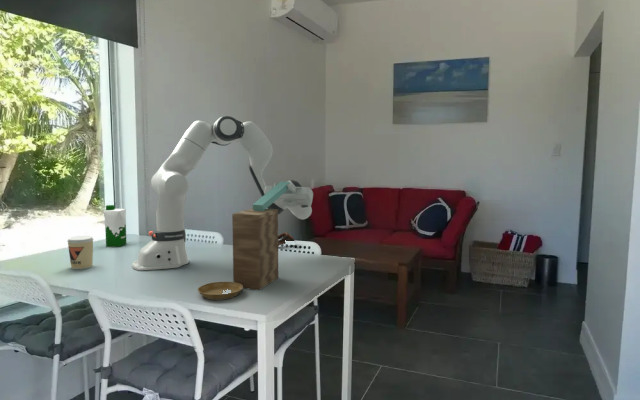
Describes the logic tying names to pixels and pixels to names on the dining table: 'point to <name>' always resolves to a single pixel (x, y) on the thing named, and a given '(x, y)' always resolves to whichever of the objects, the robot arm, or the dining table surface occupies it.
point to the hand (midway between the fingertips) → (281, 185)
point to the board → (270, 197)
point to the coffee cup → (81, 252)
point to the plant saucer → (219, 290)
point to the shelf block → (255, 247)
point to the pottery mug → (284, 238)
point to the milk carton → (115, 226)
